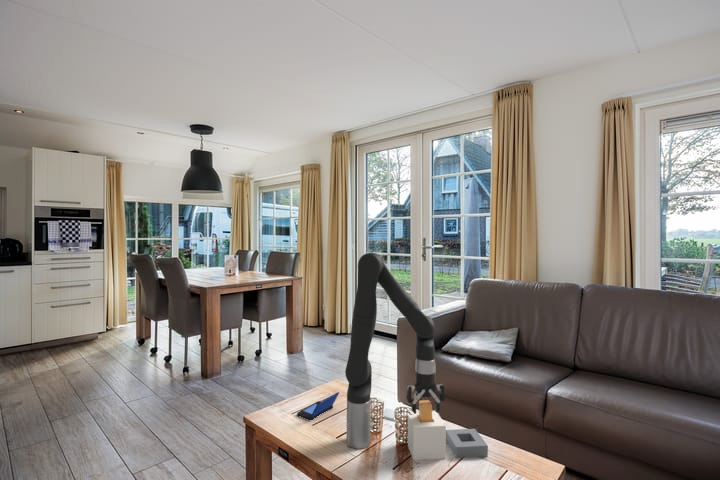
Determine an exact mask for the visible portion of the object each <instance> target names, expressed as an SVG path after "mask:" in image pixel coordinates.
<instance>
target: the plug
mask: <svg viewBox="0 0 720 480" xmlns="http://www.w3.org/2000/svg"><path fill="white" fill-rule="evenodd" d="M418 411H419V421H420V422H432V411H433V404H432V403H431V401H430V400H427V399H425V400H423V399H422V400H418Z"/></svg>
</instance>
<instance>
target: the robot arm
mask: <svg viewBox="0 0 720 480" xmlns="http://www.w3.org/2000/svg"><path fill="white" fill-rule="evenodd" d="M378 285H380V286H381V288H382V289H383V290H384V292H385V293H386V295H387V296H388V298H389V299H390V301H391V302H392V304H393V305H394V306H395V308H396V309H397V310H398V311H399V313H401V314H402V316H403V317H404V318H405V319H406V321H407V322H408V324H409V325H410V326H411V328H412V330H414V332H415V333H416V345H415V363H414V365H415V366H414V367H415V369H414V370H415V372H414V373H415V384H414V385H410V384H407V386H406V400H407V402H408V403H409V404H410V403H411V406H410V407H411V411H413V412H414V414H416V411H417V404H416V403H417V402H419V401H420V399H421V398H422V399H423V398H433V399H434V410H435V412H436V413H438V414H439V411H440V410H441V409H440V408H441V407H440V406H441V405H440V404H441V402H445V400H446V398H445V397H446V395H445V385H443V383H438V384H436V383H437V382H436V380H437V379H436V359H435V358H436V357H435V355H436V354H435V350H436V349H435V329H436V328H435V322H434V320H433V319H432V317H430V316H428V315H426V314H424V312H423V311H422V310H421V308H420V306H419V304H418V303H417V301H415V299H414V298H413V297H412V296H411V294H409V292H407V290H406V289H405V288H404V287H403V286H402V285H401V284H400V283H399V282H398V280H397V279H396V277H394V275H393V274H392V272H391V271H390V269H389V268H388V267H387V265H386V263H385V262H384V259H383V258H382V256H380V254H378V253H376V252H367V253H364V254H363V255H361V256H360V258H359V260H358V262H357V287H356V288H357V289H356V293H355V298H354V305H353V311H352V319H351V329H350V331H351V332H350V345H349V346H350V347H349V354H348V359H347V362H346V367H345V373H344V374H345V378H346V380H347V382H348V387H347V392H346V447H347V448H351V449H357V450H359V449H365V448H367V447H369V445H370V444H371V393H372V370H373V369H372V364H371V362H370V360H369V353H370V347H371V343H372V340H373V338H374V332H375V329H376V323H377V317H378V316H377V313H378V311H377V310H378V304H377V287H378ZM414 390H415V393H414V394H413V396H412V393H413V392H414ZM437 390H438V391H439V396H437V395H436V393H435V392H436V391H437Z"/></svg>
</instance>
